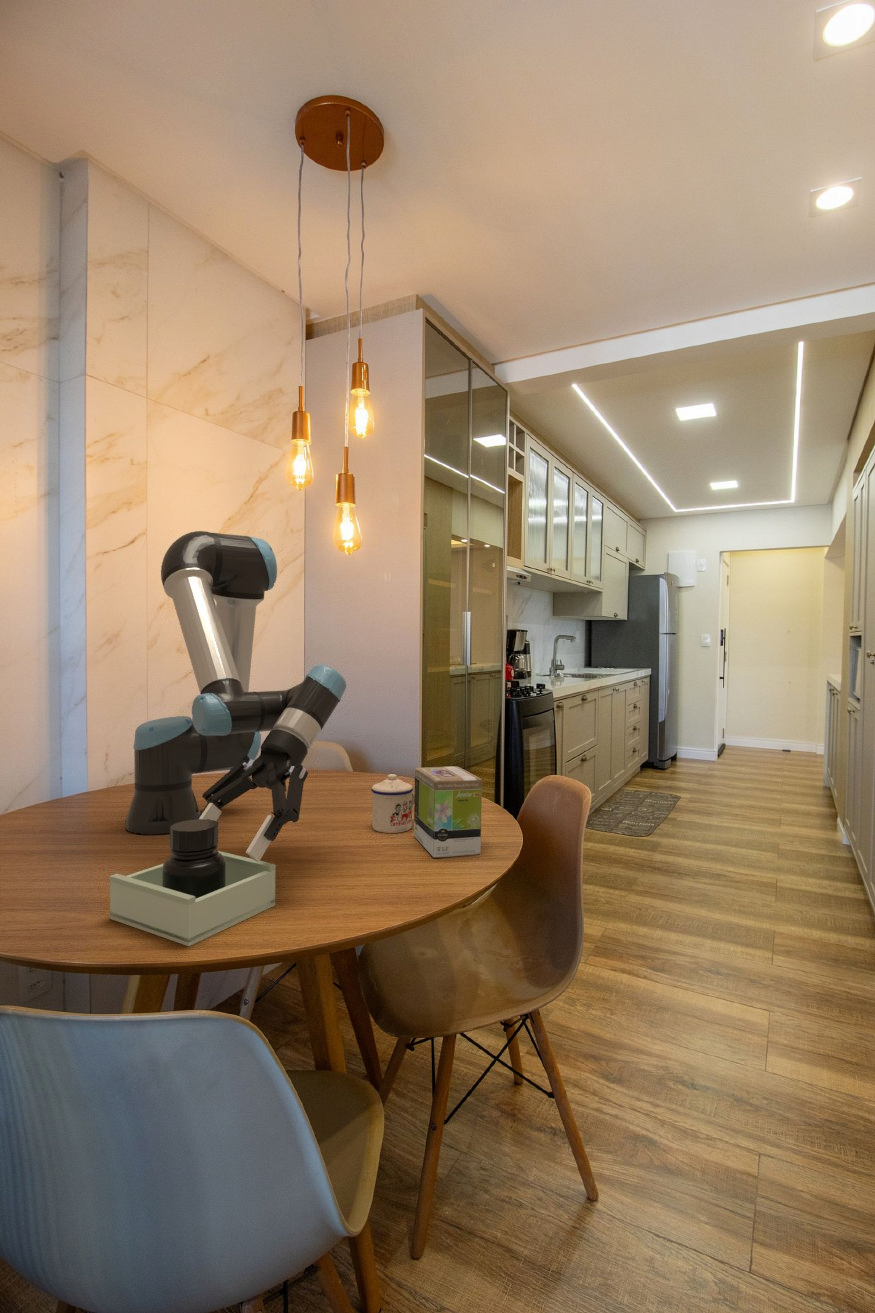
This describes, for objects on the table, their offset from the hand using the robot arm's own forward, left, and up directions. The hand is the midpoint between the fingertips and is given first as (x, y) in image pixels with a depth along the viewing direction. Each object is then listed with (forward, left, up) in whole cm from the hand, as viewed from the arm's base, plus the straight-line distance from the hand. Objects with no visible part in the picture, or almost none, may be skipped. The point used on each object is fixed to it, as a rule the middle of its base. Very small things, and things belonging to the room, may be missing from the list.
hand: (221, 849), depth 103 cm
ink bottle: (0, -5, -7) cm, 9 cm away
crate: (0, -5, -8) cm, 10 cm away
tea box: (+16, +43, -8) cm, 47 cm away
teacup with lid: (0, +49, -8) cm, 50 cm away
